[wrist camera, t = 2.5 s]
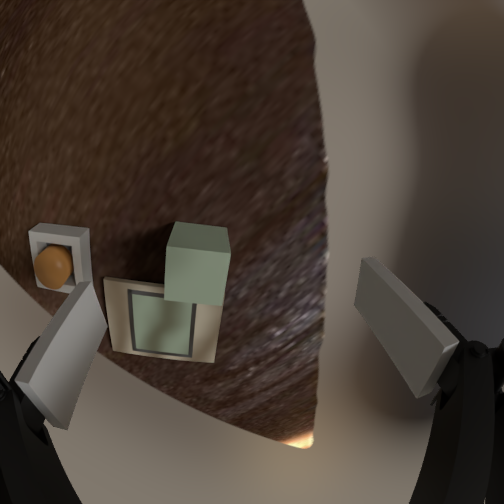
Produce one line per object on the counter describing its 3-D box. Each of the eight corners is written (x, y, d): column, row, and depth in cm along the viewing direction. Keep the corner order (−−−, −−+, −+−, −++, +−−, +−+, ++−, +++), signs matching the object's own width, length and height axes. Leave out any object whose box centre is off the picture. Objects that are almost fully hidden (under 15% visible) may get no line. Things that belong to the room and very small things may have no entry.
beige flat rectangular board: (114, 347, 37) (112, 351, 36) (105, 276, 32) (103, 280, 31) (213, 359, 40) (213, 363, 40) (224, 290, 35) (224, 294, 34)
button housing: (46, 275, 30) (37, 286, 28) (40, 222, 27) (28, 231, 25) (93, 284, 32) (85, 296, 29) (89, 228, 29) (79, 237, 26)
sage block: (171, 267, 33) (164, 300, 27) (175, 221, 31) (166, 246, 24) (219, 272, 34) (222, 306, 28) (226, 227, 32) (230, 253, 26)
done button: (47, 274, 28) (37, 286, 26) (42, 241, 27) (31, 251, 24) (76, 279, 29) (67, 292, 27) (72, 245, 28) (61, 256, 25)
